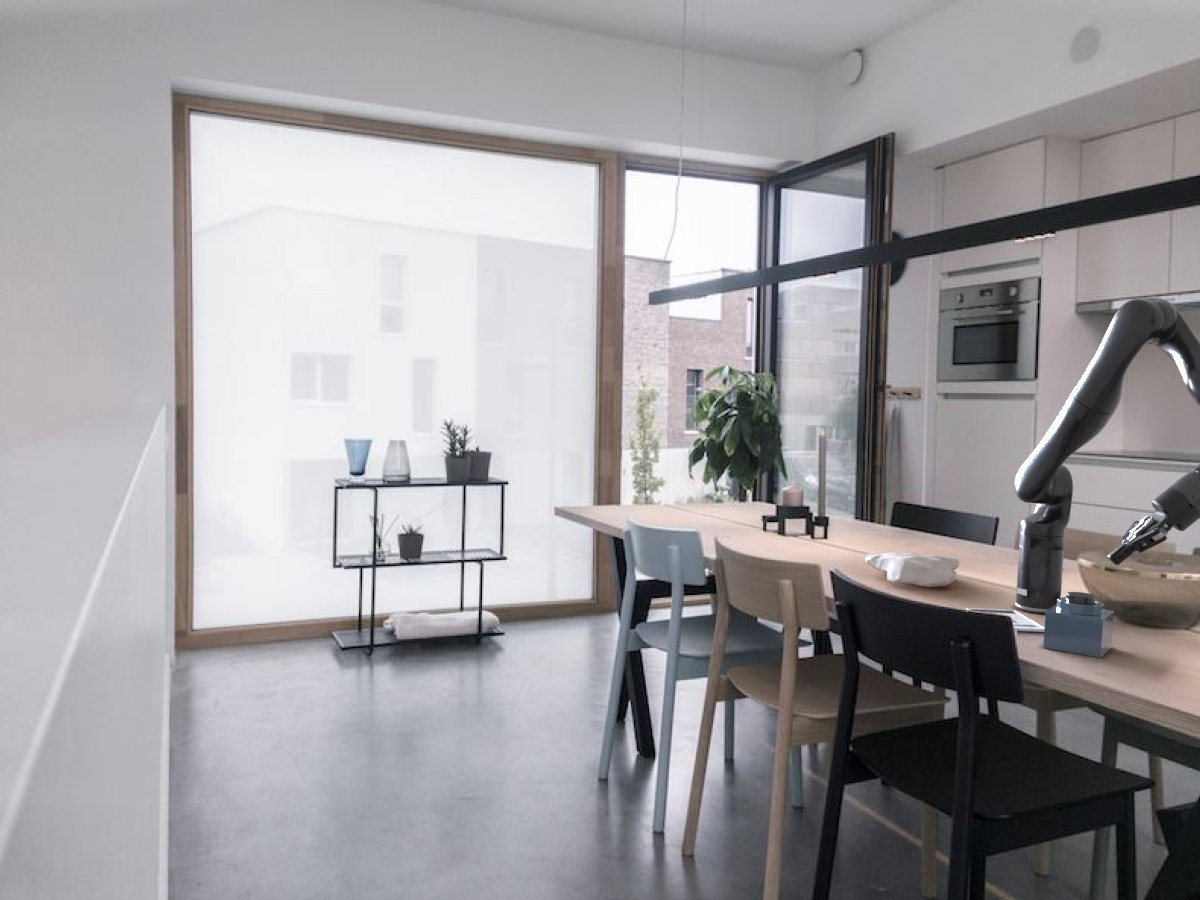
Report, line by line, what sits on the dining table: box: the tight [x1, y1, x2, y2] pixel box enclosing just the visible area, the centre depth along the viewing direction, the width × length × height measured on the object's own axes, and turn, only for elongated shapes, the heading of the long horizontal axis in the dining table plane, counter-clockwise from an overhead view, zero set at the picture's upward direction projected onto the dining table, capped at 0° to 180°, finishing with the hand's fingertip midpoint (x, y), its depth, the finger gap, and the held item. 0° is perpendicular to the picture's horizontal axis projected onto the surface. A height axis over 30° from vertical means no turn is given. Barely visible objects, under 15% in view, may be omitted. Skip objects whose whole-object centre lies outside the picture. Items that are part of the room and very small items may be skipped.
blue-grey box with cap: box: [1042, 596, 1115, 658], centre depth 191 cm, size 10×10×9 cm
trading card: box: [965, 607, 1045, 633], centre depth 211 cm, size 11×1×18 cm
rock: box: [864, 551, 960, 588], centre depth 257 cm, size 8×23×30 cm
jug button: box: [1065, 591, 1096, 605], centre depth 190 cm, size 5×5×2 cm
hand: (1111, 561), depth 189 cm, fingers closed
